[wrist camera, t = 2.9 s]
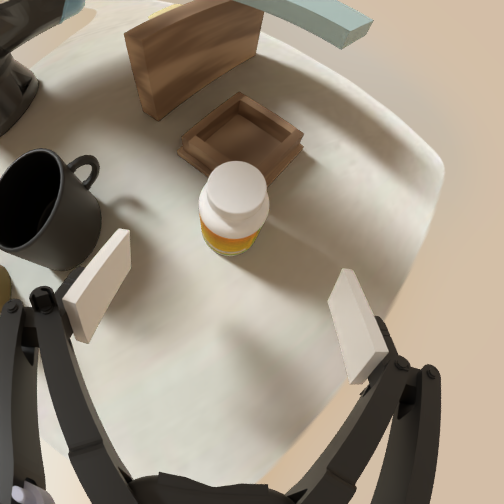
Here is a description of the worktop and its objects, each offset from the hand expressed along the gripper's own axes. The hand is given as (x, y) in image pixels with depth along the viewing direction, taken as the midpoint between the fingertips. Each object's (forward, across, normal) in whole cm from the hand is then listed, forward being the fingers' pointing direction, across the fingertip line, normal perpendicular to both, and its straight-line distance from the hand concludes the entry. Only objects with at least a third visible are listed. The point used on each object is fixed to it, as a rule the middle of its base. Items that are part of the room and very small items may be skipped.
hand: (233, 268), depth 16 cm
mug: (+10, -18, -4) cm, 21 cm away
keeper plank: (+18, +1, +22) cm, 28 cm away
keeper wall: (+26, -8, +12) cm, 29 cm away
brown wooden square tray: (+17, -1, +4) cm, 18 cm away
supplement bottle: (+11, -1, -3) cm, 11 cm away
